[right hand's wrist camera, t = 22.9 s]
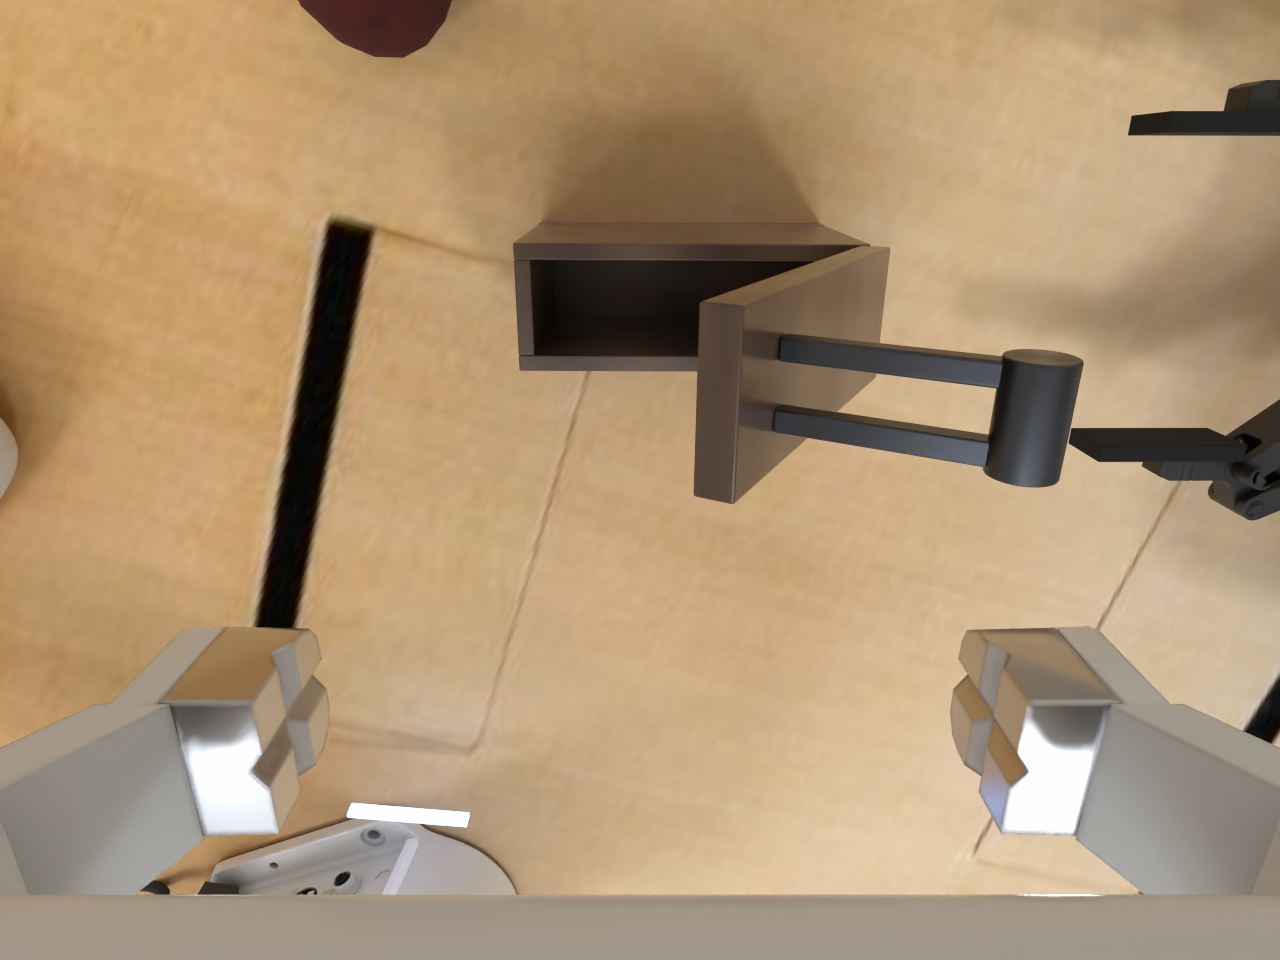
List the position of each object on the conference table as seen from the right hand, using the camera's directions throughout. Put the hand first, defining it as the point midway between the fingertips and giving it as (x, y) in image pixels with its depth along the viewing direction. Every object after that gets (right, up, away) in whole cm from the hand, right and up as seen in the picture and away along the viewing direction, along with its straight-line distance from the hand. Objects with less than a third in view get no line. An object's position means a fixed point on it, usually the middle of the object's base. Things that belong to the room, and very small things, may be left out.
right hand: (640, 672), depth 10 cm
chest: (+2, +13, +34) cm, 36 cm away
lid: (+5, +7, +18) cm, 20 cm away
